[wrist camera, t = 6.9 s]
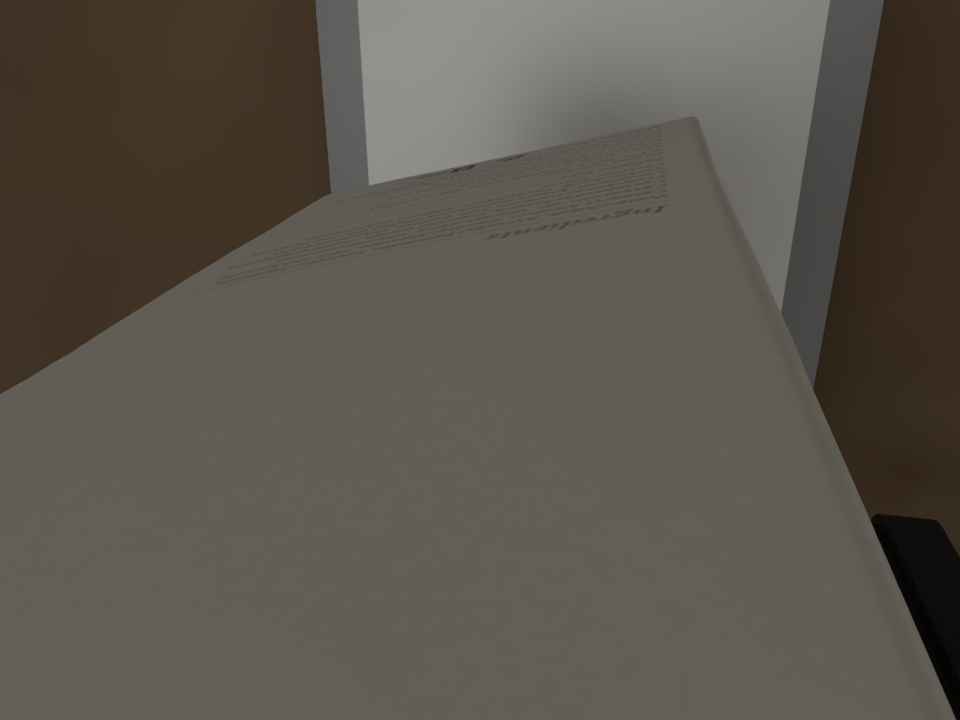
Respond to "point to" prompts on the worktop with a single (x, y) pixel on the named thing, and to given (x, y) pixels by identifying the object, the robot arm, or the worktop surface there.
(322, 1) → the case
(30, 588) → the small box
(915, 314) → the worktop surface
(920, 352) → the worktop surface
